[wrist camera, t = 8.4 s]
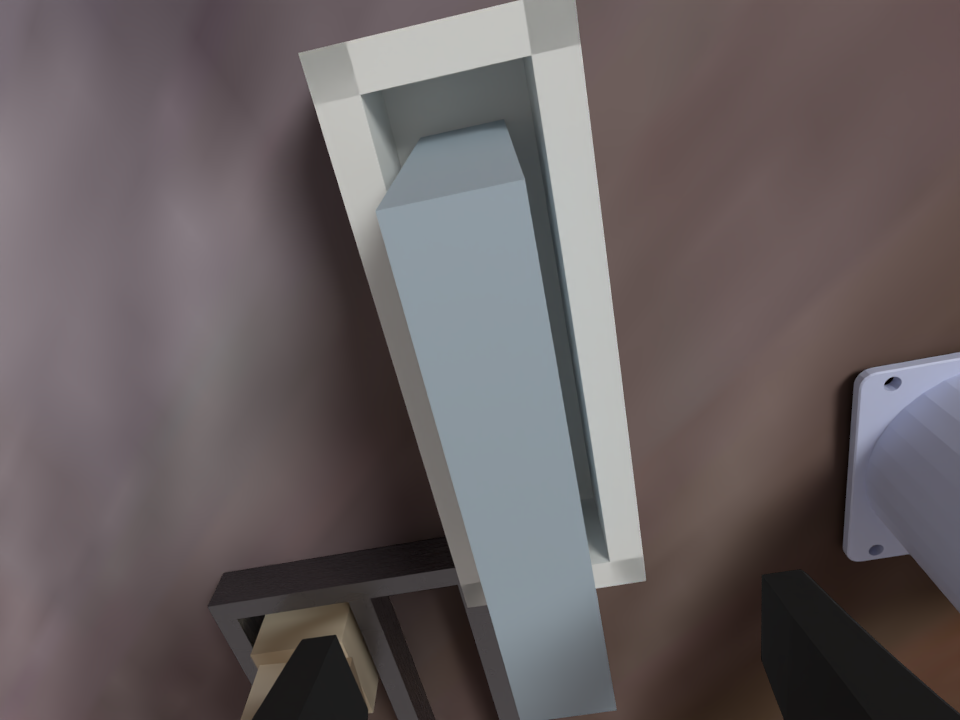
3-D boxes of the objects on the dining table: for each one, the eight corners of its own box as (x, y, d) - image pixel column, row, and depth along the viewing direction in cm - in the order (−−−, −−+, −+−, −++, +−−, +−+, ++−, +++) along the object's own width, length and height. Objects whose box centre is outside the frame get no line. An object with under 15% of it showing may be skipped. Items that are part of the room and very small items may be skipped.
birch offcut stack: (357, 586, 24) (330, 707, 20) (385, 655, 26) (366, 781, 22) (268, 600, 25) (221, 723, 20) (301, 667, 26) (265, 794, 22)
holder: (561, -3, 15) (583, -16, 12) (627, 502, 22) (652, 579, 19) (327, 53, 16) (288, 55, 13) (463, 529, 23) (461, 608, 20)
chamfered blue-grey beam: (503, 119, 16) (525, 179, 9) (569, 487, 21) (617, 710, 14) (420, 137, 16) (375, 210, 9) (506, 497, 22) (520, 723, 14)
